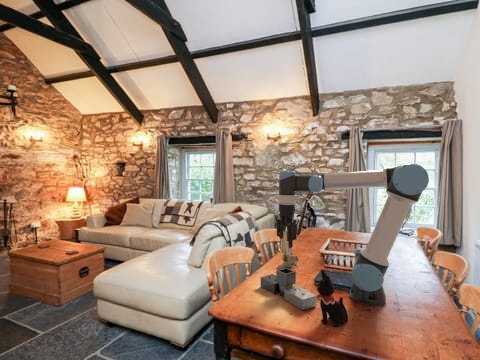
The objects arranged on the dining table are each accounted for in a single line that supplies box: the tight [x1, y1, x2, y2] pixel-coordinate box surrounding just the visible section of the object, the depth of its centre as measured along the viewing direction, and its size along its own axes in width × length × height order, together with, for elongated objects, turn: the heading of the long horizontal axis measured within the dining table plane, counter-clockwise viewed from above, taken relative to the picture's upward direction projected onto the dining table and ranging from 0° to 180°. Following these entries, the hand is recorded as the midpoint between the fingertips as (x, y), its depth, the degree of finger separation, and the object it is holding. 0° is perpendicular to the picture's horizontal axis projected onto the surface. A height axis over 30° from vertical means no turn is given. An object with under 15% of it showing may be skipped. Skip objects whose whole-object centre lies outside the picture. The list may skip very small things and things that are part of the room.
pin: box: [282, 229, 290, 262], centre depth 134 cm, size 3×3×14 cm
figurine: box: [316, 268, 349, 328], centre depth 111 cm, size 8×13×20 cm, turn 95°
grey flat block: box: [283, 285, 317, 311], centre depth 127 cm, size 12×8×5 cm, turn 31°
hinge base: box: [260, 267, 297, 299], centre depth 139 cm, size 17×8×12 cm, turn 37°
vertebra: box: [277, 253, 299, 271], centre depth 171 cm, size 20×11×10 cm, turn 140°
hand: (286, 253), depth 134 cm, fingers closed on pin, 3 cm apart
